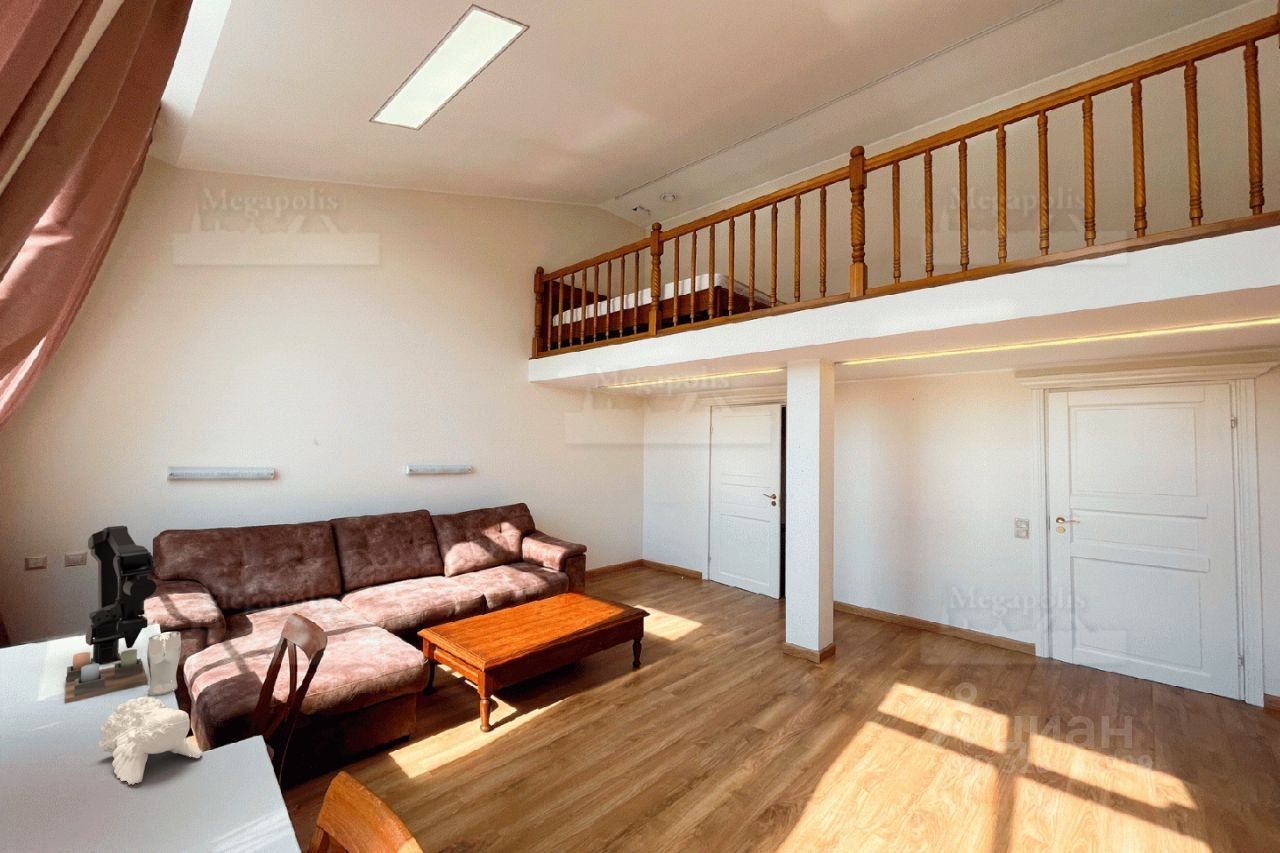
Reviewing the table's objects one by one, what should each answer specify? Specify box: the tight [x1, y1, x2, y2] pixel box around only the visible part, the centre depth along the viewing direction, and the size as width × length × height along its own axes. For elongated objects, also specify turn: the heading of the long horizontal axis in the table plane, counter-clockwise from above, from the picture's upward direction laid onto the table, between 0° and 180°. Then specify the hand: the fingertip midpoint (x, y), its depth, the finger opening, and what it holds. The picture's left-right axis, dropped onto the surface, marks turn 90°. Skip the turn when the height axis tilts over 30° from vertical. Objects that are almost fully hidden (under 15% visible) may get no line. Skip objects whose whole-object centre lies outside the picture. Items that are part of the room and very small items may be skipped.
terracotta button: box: [72, 651, 91, 671], centre depth 155 cm, size 3×3×4 cm
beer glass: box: [146, 631, 182, 697], centre depth 149 cm, size 7×7×15 cm
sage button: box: [120, 649, 138, 667], centre depth 157 cm, size 3×3×4 cm
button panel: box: [64, 658, 149, 704], centre depth 154 cm, size 19×16×4 cm
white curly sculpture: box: [98, 696, 203, 785], centre depth 117 cm, size 13×12×20 cm
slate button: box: [81, 663, 100, 683], centre depth 147 cm, size 3×3×4 cm
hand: (129, 647), depth 157 cm, fingers closed
